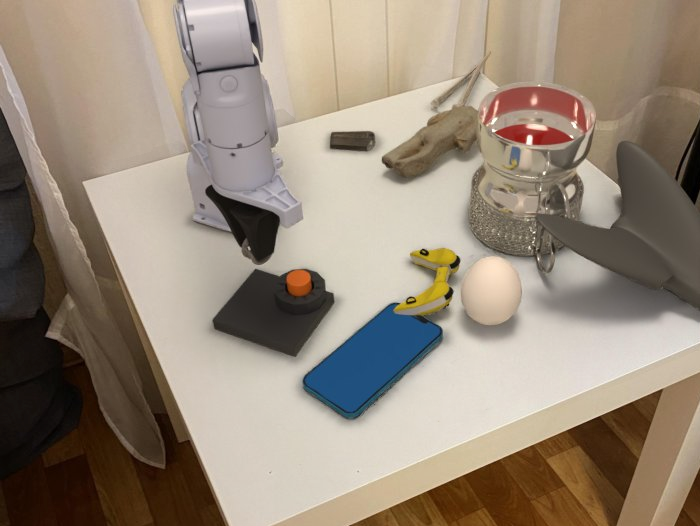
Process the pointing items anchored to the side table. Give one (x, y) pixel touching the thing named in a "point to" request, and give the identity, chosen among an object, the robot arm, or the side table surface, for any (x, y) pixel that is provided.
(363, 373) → the smartphone
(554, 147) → the silver candle holder
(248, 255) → the decorative ring
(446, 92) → the tweezers
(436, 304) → the yellow curved piece
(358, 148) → the block
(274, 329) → the push button box
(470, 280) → the egg
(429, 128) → the sculpture
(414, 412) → the side table surface
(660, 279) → the propeller
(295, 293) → the button
